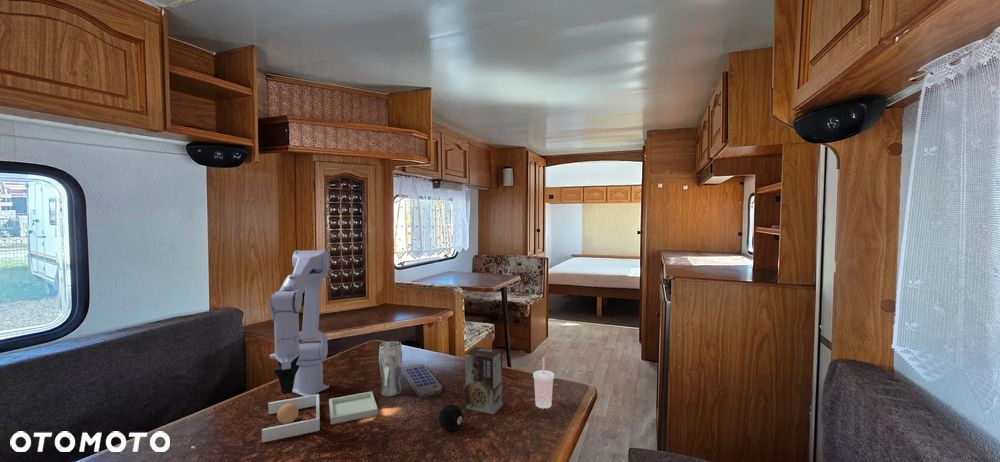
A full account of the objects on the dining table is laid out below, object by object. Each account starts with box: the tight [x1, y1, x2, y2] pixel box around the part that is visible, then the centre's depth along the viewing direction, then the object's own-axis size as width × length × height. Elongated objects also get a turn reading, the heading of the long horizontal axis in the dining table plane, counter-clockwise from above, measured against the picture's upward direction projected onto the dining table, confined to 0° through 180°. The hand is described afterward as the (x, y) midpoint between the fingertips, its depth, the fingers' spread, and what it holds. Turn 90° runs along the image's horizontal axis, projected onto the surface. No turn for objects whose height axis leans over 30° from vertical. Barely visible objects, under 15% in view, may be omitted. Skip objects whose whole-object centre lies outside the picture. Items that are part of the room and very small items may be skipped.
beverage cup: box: [532, 356, 555, 409], centre depth 116 cm, size 6×6×14 cm
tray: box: [328, 390, 379, 425], centre depth 113 cm, size 12×12×2 cm
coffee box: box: [464, 346, 503, 415], centre depth 115 cm, size 9×6×16 cm
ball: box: [276, 403, 299, 425], centre depth 107 cm, size 5×5×5 cm
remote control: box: [401, 363, 443, 398], centre depth 133 cm, size 8×23×2 cm, turn 26°
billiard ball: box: [438, 404, 464, 431], centre depth 103 cm, size 6×6×6 cm
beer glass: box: [378, 340, 403, 398], centre depth 124 cm, size 7×7×15 cm
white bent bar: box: [261, 393, 321, 444], centre depth 107 cm, size 13×16×3 cm
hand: (288, 387), depth 106 cm, fingers open, 7 cm apart
